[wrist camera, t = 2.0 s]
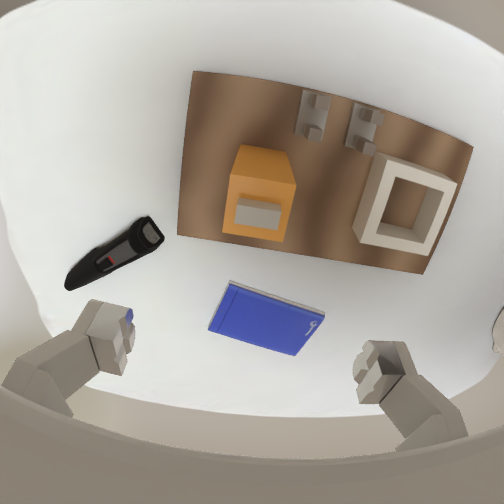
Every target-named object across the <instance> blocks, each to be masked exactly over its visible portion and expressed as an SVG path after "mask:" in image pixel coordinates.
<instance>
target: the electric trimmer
mask: <svg viewBox="0 0 504 504" xmlns="http://www.w3.org/2000/svg"><path fill="white" fill-rule="evenodd" d="M163 241H164V235H163V234H162V233H161V231H160V230H159V228H158V227H157V226H156V224H155V223H154V221H153V220H152V219H151V217H146V218H144V217H143V218H140V219H139V220H137V221H136V222H135V223H134V224H133V225H132V226H131V227H130V229H129V230H128V231H127V232H125V233H124V234H122V235H121V236H120V237H118V238H117V239H115V240H114V241H113V242H111V243H110V244H108V245H106V246H105V247H103V248H101V249H94V250H92V251H91V252H90V253H89V254H87V255H86V256H85V257H84V258H83V259H82V260H81V261H80V262H79V263H78V264H77V265H76V266H75V267H74V268H73V269H71V271H70V272H69V273H68V274H67V277H66V280H65V283H64V287H65V289H66V290H68V291H72V290H74V289H77V288H79V287H82V286H84V285H87V284H89V283H91V282H93V281H95V280H97V279H99V278H101V277H104V276H106V275H108V274H110V273H112V272H113V271H114V270H116V269H118V268H120V267H122V266H124V265H126V264H129V263H131V262H133V261H135V260H137V259H139V258H141V257H143V256H145V255H147V254H149V253H151V252H153V251H155V250H156V249H157V248H158V247H159V246H160V244H162V243H163Z"/></svg>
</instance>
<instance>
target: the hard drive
mask: <svg viewBox="0 0 504 504" xmlns="http://www.w3.org/2000/svg"><path fill="white" fill-rule="evenodd" d="M324 318H325V313H324V312H322V311H319V310H316V309H313V308H310V307H307V306H304V305H301V304H298V303H295V302H291V301H288V300H285V299H282V298H280V297H277V296H274V295H271V294H268V293H265V292H262V291H259V290H256V289H253V288H250V287H247V286H244V285H241V284H239V283H236V282H233V281H229V283H228V286H227V288H226V290H225V292H224V294H223V296H222V298H221V301H220V303H219V305H218V307H217V309H216V311H215V313H214V316H213V318H212V320H211V322H210V324H209V326H208V330H209V331H212V332H215V333H219V334H222V335H225V336H228V337H231V338H234V339H237V340H241V341H244V342H247V343H250V344H253V345H257V346H260V347H264V348H267V349H271V350H274V351H278V352H281V353H285V354H289V355H293V356H295V355H296V354H297V353H298V352H299V351H300V349H301V348H302V347H303V346H304V344H305V343H306V342H307V341H308V339H309V338H310V337H311V336H312V334H313V333H314V332H315V331H316V329H317V328H318V327H319V325H320V324H321V323H322V321H323V320H324Z"/></svg>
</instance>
